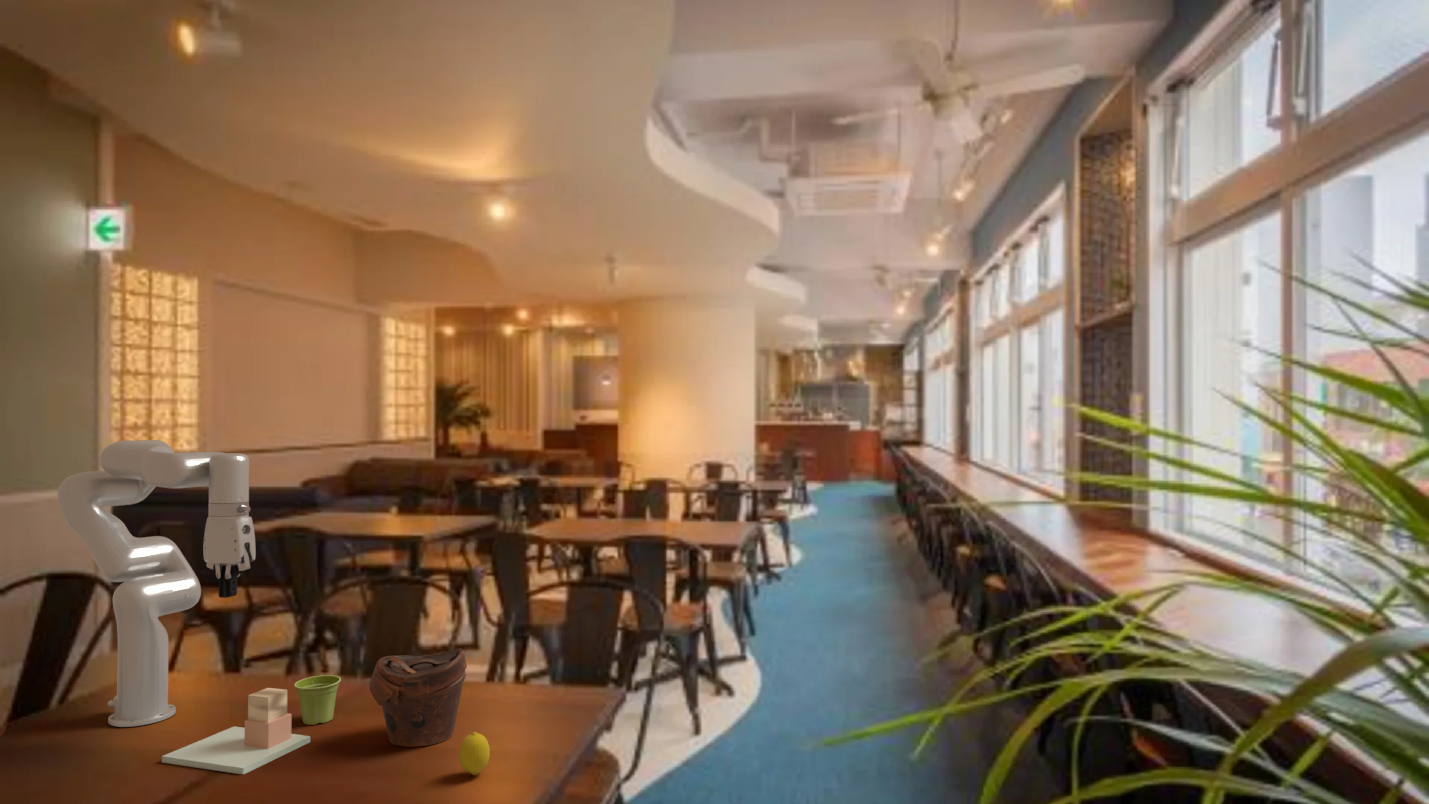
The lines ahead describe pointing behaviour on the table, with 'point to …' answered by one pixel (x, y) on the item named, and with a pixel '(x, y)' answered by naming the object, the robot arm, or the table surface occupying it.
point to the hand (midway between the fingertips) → (227, 596)
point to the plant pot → (317, 698)
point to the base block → (267, 732)
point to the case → (419, 696)
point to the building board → (231, 752)
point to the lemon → (474, 753)
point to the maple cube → (267, 705)
